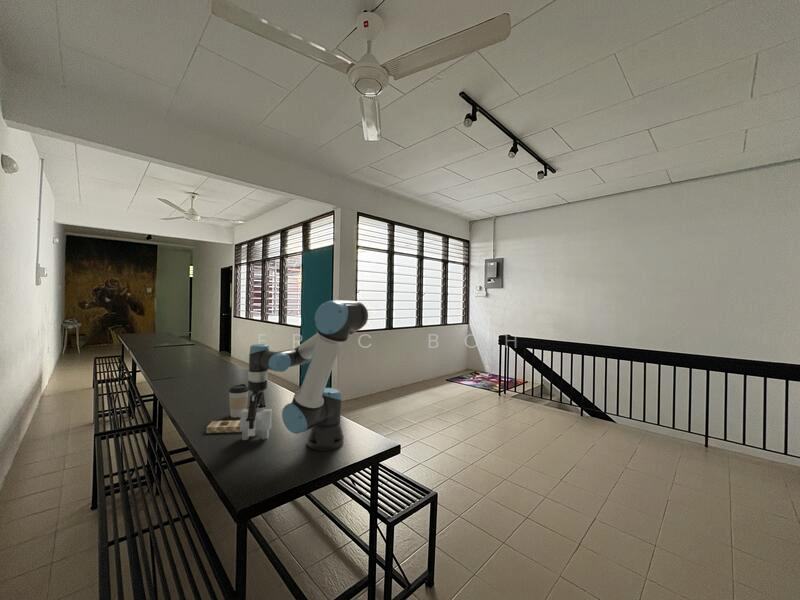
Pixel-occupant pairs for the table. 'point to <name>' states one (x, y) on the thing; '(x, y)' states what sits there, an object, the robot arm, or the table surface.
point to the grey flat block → (262, 422)
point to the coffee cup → (238, 399)
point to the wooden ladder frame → (223, 426)
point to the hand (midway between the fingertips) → (255, 428)
